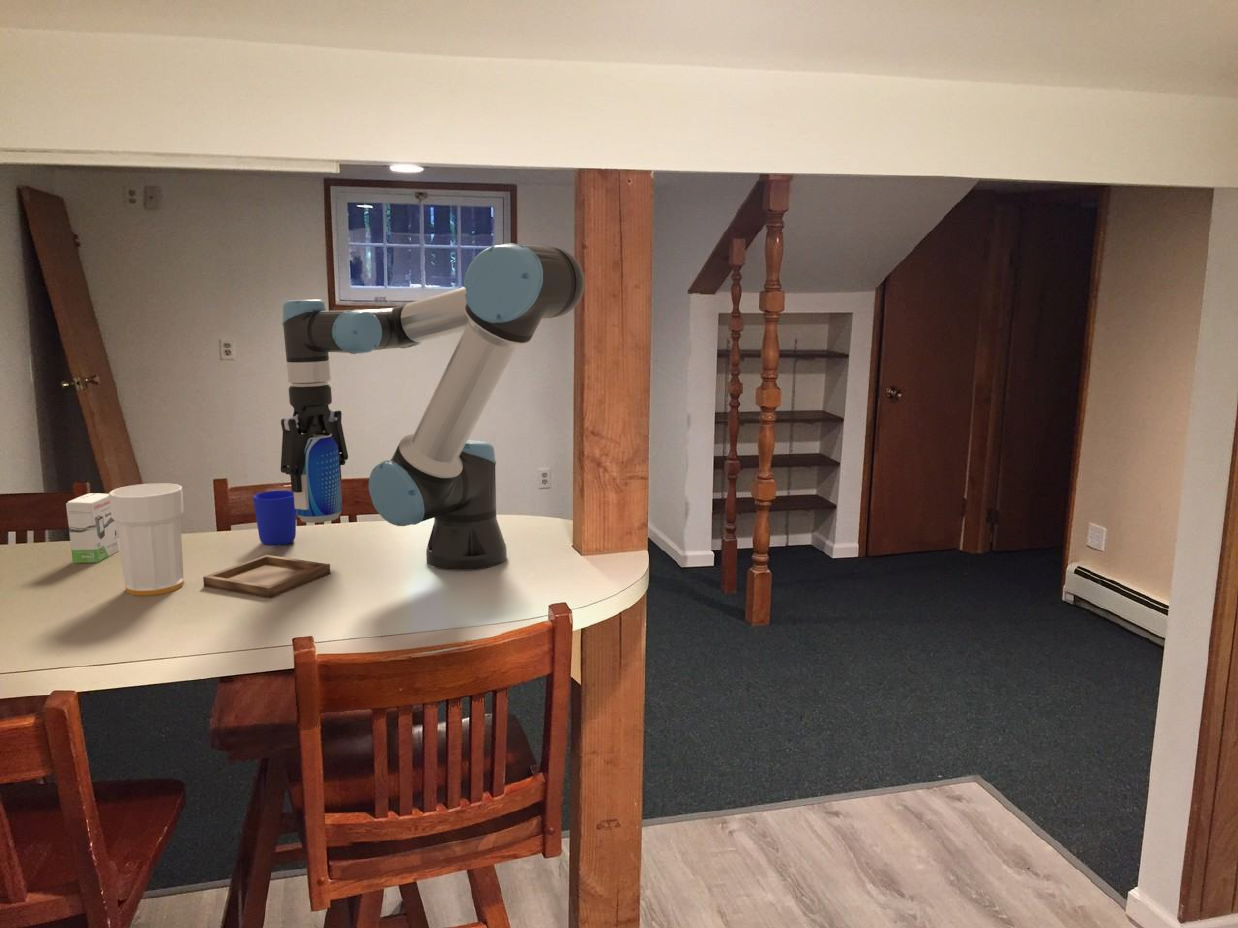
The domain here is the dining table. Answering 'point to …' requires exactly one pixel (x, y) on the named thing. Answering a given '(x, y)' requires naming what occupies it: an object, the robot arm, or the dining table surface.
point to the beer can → (322, 480)
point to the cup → (149, 536)
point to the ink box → (91, 528)
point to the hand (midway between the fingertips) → (318, 503)
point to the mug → (275, 517)
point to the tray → (267, 576)
